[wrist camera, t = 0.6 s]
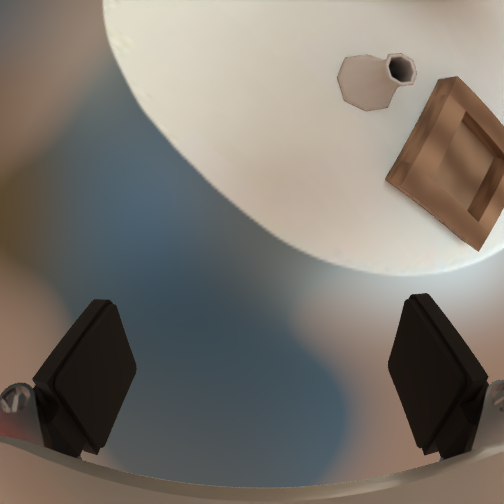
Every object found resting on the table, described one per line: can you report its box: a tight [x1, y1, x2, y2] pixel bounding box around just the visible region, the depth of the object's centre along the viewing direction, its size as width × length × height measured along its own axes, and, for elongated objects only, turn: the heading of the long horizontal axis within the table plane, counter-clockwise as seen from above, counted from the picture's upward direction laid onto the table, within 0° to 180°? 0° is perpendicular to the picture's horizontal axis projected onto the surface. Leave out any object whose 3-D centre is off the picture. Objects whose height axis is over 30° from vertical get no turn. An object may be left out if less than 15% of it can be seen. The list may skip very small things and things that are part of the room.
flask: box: [337, 53, 417, 111], centre depth 25 cm, size 7×7×10 cm
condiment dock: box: [385, 76, 504, 252], centre depth 30 cm, size 16×16×4 cm
